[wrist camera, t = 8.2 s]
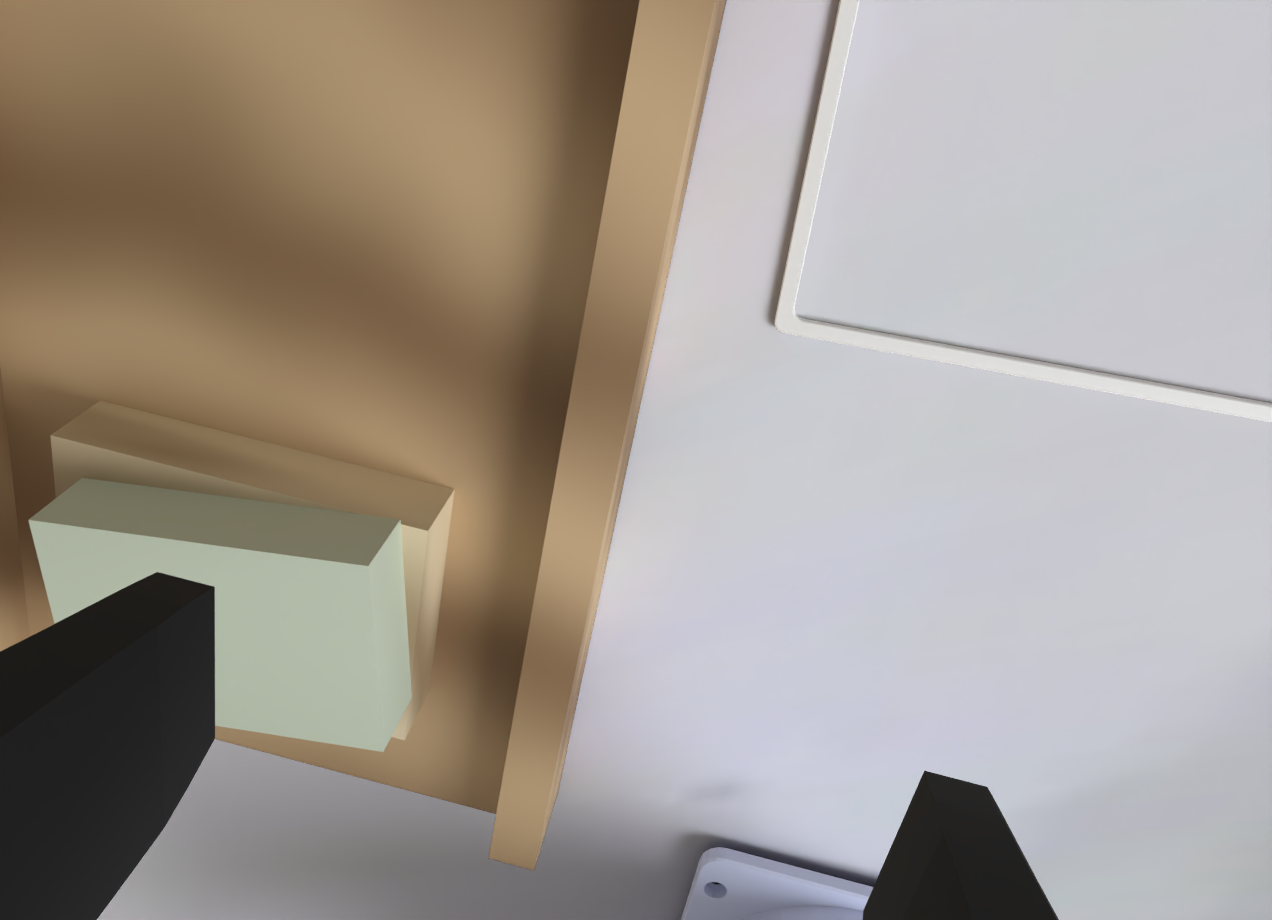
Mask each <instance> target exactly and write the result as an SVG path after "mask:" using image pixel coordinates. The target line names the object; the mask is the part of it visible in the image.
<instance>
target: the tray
mask: <svg viewBox="0 0 1272 920" xmlns="http://www.w3.org/2000/svg"><path fill="white" fill-rule="evenodd" d="M725 5H726V0H0V651H2V650H4V649H6V648H8V647H10V646H12V645H14V644H16V643H18V642H20V641H22V640H24V639H26V638H28V637H30V636H32V635H34V634H36V633H38V632H40V631H42V630H44V629H46V628H48V627H50V626H52V625H53V624H54V620H53V616H52V612H51V608H50V604H49V600H48V596H47V592H46V588H45V584H44V580H43V576H42V572H41V568H40V564H39V560H38V557H37V553H36V549H35V545H34V541H33V537H32V533H31V529H30V525H29V521H28V520H29V519H30V518H31V517H33V516H34V515H35V514H37V513H38V512H39V511H40V510H42V509H43V508H44V507H45V506H47V505H48V504H49V503H51V502H52V501H53V500H54V499H56V494H55V482H54V471H53V459H52V448H51V436H50V435H52V434H53V433H54V432H56V431H57V430H59V429H60V428H62V427H63V426H64V425H66V424H67V423H69V422H70V421H72V420H73V419H75V418H76V417H77V416H79V415H80V414H82V413H83V412H85V411H86V410H87V409H89V408H90V407H92V406H93V405H95V404H96V403H97V402H99V401H104V402H108V403H112V404H116V405H120V406H124V407H128V408H132V409H136V410H140V411H144V412H148V413H152V414H156V415H160V416H164V417H168V418H172V419H176V420H180V421H184V422H188V423H192V424H196V425H200V426H204V427H208V428H212V429H216V430H220V431H224V432H228V433H231V434H235V435H239V436H243V437H247V438H251V439H255V440H259V441H263V442H267V443H271V444H275V445H279V446H283V447H287V448H291V449H295V450H299V451H303V452H307V453H311V454H315V455H319V456H323V457H327V458H331V459H335V460H339V461H343V462H347V463H351V464H355V465H359V466H363V467H367V468H371V469H375V470H379V471H383V472H387V473H391V474H395V475H399V476H403V477H407V478H411V479H415V480H419V481H423V482H427V483H431V484H435V485H438V486H442V487H446V488H450V489H454V497H453V505H452V513H451V521H450V529H449V538H448V546H447V554H446V562H445V570H444V578H443V586H442V594H441V602H440V610H439V618H438V626H437V634H436V642H435V650H434V658H433V666H432V675H431V683H430V691H429V693H428V695H427V697H426V699H425V701H424V703H423V705H422V707H421V709H420V711H419V713H418V715H417V717H416V719H415V721H414V723H413V725H412V727H411V729H410V731H409V732H408V734H407V736H406V738H405V740H401V739H397V738H394V737H391V738H390V740H389V742H388V744H387V746H386V748H385V750H384V752H380V751H373V750H367V749H361V748H354V747H348V746H342V745H335V744H329V743H323V742H316V741H310V740H304V739H297V738H291V737H284V736H278V735H272V734H265V733H259V732H253V731H246V730H240V729H234V728H227V727H221V726H215V739H217V740H221V741H225V742H229V743H232V744H236V745H240V746H244V747H247V748H251V749H255V750H259V751H262V752H266V753H270V754H274V755H277V756H281V757H285V758H288V759H292V760H296V761H300V762H303V763H307V764H311V765H315V766H318V767H322V768H326V769H330V770H333V771H337V772H341V773H345V774H348V775H352V776H356V777H360V778H363V779H367V780H371V781H375V782H378V783H382V784H386V785H390V786H393V787H397V788H401V789H405V790H408V791H412V792H416V793H420V794H423V795H427V796H431V797H435V798H438V799H442V800H446V801H450V802H453V803H457V804H461V805H465V806H468V807H472V808H476V809H480V810H483V811H487V812H491V813H494V814H496V818H495V823H494V829H493V835H492V840H491V846H490V852H489V857H488V858H489V859H493V860H497V861H501V862H504V863H508V864H512V865H515V866H519V867H523V868H527V869H530V870H534V869H535V865H536V862H537V859H538V856H539V852H540V849H541V846H542V843H543V840H544V836H545V833H546V830H547V827H548V823H549V820H550V817H551V814H552V810H553V807H554V804H555V801H556V797H557V794H558V789H559V784H560V780H561V775H562V770H563V766H564V761H565V756H566V752H567V747H568V742H569V737H570V733H571V728H572V723H573V719H574V714H575V709H576V705H577V700H578V695H579V690H580V686H581V681H582V676H583V672H584V667H585V662H586V658H587V653H588V648H589V643H590V639H591V634H592V629H593V625H594V620H595V615H596V611H597V606H598V601H599V597H600V592H601V587H602V582H603V578H604V573H605V568H606V564H607V559H608V554H609V550H610V545H611V540H612V535H613V531H614V526H615V521H616V517H617V512H618V507H619V503H620V498H621V493H622V488H623V484H624V479H625V474H626V470H627V465H628V460H629V456H630V451H631V446H632V441H633V437H634V432H635V427H636V423H637V418H638V413H639V409H640V404H641V399H642V395H643V390H644V385H645V380H646V376H647V371H648V366H649V362H650V357H651V352H652V348H653V343H654V338H655V333H656V329H657V324H658V319H659V315H660V310H661V305H662V301H663V296H664V291H665V286H666V282H667V277H668V272H669V268H670V263H671V258H672V254H673V249H674V244H675V239H676V235H677V230H678V225H679V221H680V216H681V211H682V207H683V202H684V197H685V192H686V188H687V183H688V178H689V174H690V169H691V164H692V160H693V155H694V150H695V146H696V141H697V136H698V131H699V127H700V122H701V117H702V113H703V108H704V103H705V99H706V94H707V89H708V84H709V80H710V75H711V70H712V66H713V61H714V56H715V52H716V47H717V42H718V37H719V33H720V28H721V23H722V19H723V14H724V9H725Z"/></svg>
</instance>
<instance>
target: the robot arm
mask: <svg viewBox="0 0 1272 920" xmlns="http://www.w3.org/2000/svg"><path fill="white" fill-rule="evenodd" d="M214 739H215V587H214V586H210V585H206V584H202V583H198V582H194V581H190V580H187V579H183V578H179V577H175V576H171V575H167V574H164V573H160V572H156V573H154V574H152V575H150V576H148V577H145V578H143V579H141V580H139V581H137V582H135V583H133V584H131V585H129V586H127V587H125V588H123V589H121V590H119V591H117V592H115V593H113V594H111V595H109V596H107V597H105V598H104V599H102V600H100V601H98V602H96V603H94V604H92V605H90V606H88V607H86V608H84V609H82V610H80V611H78V612H77V613H75V614H73V615H71V616H69V617H67V618H65V619H63V620H61V621H59V622H57V623H55V624H53V625H52V626H50V627H48V628H46V629H44V630H42V631H40V632H38V633H36V634H34V635H32V636H30V637H28V638H26V639H24V640H22V641H20V642H18V643H16V644H14V645H12V646H10V647H8V648H6V649H4V650H2V651H0V920H97V918H98V917H99V916H100V914H101V913H102V912H103V910H104V909H105V908H106V906H107V905H108V904H109V902H110V901H111V900H112V898H113V897H114V896H115V894H116V893H117V891H118V890H119V889H120V887H121V886H122V885H123V883H124V882H125V881H126V879H127V878H128V876H129V875H130V874H131V872H132V871H133V870H134V868H135V867H136V866H137V864H138V863H139V862H140V860H141V859H142V857H143V856H144V855H145V853H146V852H147V851H148V849H149V848H150V846H151V845H152V844H153V842H154V841H155V840H156V838H157V837H158V835H159V834H160V833H161V831H162V830H163V828H164V827H165V825H166V824H167V822H168V820H169V819H170V817H171V815H172V813H173V812H174V810H175V808H176V807H177V805H178V803H179V801H180V800H181V798H182V796H183V795H184V793H185V791H186V790H187V788H188V786H189V784H190V782H191V781H192V779H193V777H194V775H195V773H196V772H197V770H198V768H199V766H200V764H201V762H202V761H203V759H204V757H205V755H206V753H207V752H208V750H209V748H210V746H211V744H212V742H213V741H214ZM711 882H718V883H720V884H721V885H720V884H713V883H711ZM681 920H1059V919H1058V918H1057V916H1056V914H1055V912H1054V910H1053V908H1052V906H1051V905H1050V903H1049V901H1048V899H1047V897H1046V895H1045V894H1044V892H1043V890H1042V888H1041V886H1040V884H1039V883H1038V881H1037V879H1036V877H1035V875H1034V873H1033V871H1032V869H1031V868H1030V866H1029V864H1028V862H1027V860H1026V858H1025V856H1024V854H1023V852H1022V851H1021V849H1020V847H1019V845H1018V843H1017V841H1016V839H1015V837H1014V835H1013V834H1012V832H1011V830H1010V828H1009V826H1008V824H1007V822H1006V820H1005V818H1004V817H1003V815H1002V813H1001V811H1000V809H999V807H998V805H997V804H996V802H995V800H994V798H993V796H992V795H991V793H990V791H989V789H988V788H987V787H985V786H981V785H977V784H973V783H970V782H966V781H962V780H958V779H954V778H950V777H946V776H943V775H939V774H935V773H931V772H927V771H924V773H923V775H922V778H921V780H920V782H919V785H918V787H917V789H916V791H915V794H914V796H913V798H912V801H911V803H910V805H909V807H908V810H907V812H906V814H905V817H904V819H903V821H902V823H901V826H900V828H899V830H898V833H897V835H896V837H895V839H894V842H893V844H892V846H891V849H890V851H889V853H888V855H887V858H886V860H885V862H884V865H883V867H882V869H881V871H880V874H879V876H878V878H877V880H876V883H875V885H874V887H871V886H867V885H864V884H860V883H856V882H852V881H849V880H845V879H841V878H837V877H834V876H830V875H826V874H822V873H818V872H815V871H811V870H807V869H803V868H800V867H796V866H792V865H788V864H785V863H781V862H777V861H773V860H770V859H766V858H762V857H758V856H754V855H751V854H747V853H743V852H739V851H736V850H732V849H728V848H722V847H716V848H711V849H708V850H707V851H705V852H704V853H703V854H702V856H701V857H700V860H699V863H698V866H697V870H696V873H695V876H694V879H693V882H692V885H691V889H690V892H689V895H688V898H687V901H686V904H685V908H684V911H683V914H682V917H681Z"/></svg>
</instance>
